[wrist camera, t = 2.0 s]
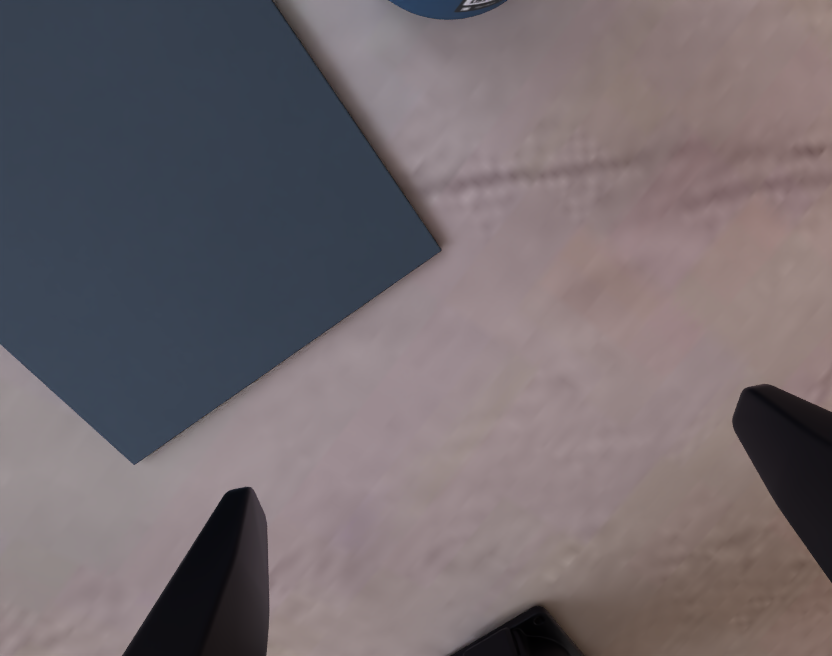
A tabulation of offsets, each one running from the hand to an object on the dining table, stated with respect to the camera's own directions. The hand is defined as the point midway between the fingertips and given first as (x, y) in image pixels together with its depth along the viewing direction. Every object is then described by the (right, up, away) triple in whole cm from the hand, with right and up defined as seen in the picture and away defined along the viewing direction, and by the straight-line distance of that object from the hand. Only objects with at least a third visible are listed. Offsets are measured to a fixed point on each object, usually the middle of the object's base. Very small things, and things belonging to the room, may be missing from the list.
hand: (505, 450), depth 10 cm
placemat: (-13, +9, +8) cm, 18 cm away
